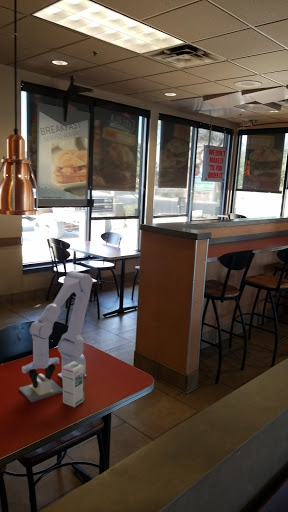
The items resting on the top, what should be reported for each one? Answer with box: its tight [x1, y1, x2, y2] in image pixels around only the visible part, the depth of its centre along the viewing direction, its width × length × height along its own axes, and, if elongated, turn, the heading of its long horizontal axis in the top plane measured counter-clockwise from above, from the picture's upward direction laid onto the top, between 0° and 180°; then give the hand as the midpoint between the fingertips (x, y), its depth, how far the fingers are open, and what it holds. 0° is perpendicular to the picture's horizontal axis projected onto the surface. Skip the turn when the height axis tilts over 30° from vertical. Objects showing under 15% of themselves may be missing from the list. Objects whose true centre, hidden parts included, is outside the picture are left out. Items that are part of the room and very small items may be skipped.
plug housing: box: [31, 373, 51, 394], centre depth 154 cm, size 4×8×5 cm, turn 40°
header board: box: [19, 378, 63, 403], centre depth 154 cm, size 13×11×4 cm
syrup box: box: [61, 361, 85, 408], centre depth 146 cm, size 6×6×14 cm
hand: (41, 385), depth 154 cm, fingers open, 5 cm apart
